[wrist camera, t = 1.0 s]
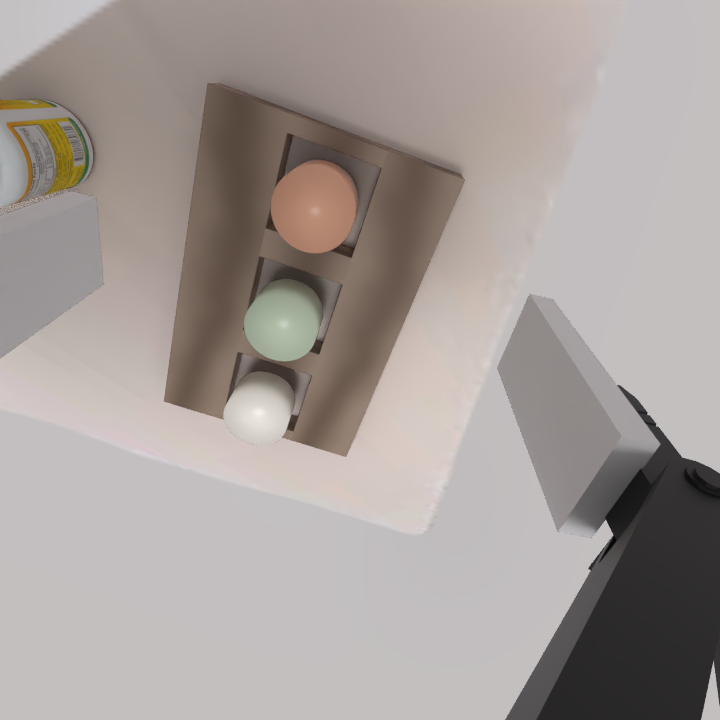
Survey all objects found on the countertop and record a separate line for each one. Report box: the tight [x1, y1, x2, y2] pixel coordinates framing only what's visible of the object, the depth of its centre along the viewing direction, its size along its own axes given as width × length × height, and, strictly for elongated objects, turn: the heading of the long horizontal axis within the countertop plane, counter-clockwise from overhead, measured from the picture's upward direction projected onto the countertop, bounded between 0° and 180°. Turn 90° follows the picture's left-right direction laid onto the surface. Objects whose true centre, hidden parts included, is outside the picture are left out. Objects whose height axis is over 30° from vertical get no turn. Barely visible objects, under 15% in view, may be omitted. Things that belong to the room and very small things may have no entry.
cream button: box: [223, 371, 295, 445], centre depth 36 cm, size 5×5×3 cm
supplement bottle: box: [0, 99, 93, 207], centre depth 27 cm, size 5×5×10 cm
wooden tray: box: [164, 83, 465, 457], centre depth 34 cm, size 16×24×2 cm, turn 162°
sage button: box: [244, 279, 323, 361], centre depth 32 cm, size 5×5×3 cm
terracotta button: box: [271, 160, 358, 253], centre depth 28 cm, size 5×5×3 cm
